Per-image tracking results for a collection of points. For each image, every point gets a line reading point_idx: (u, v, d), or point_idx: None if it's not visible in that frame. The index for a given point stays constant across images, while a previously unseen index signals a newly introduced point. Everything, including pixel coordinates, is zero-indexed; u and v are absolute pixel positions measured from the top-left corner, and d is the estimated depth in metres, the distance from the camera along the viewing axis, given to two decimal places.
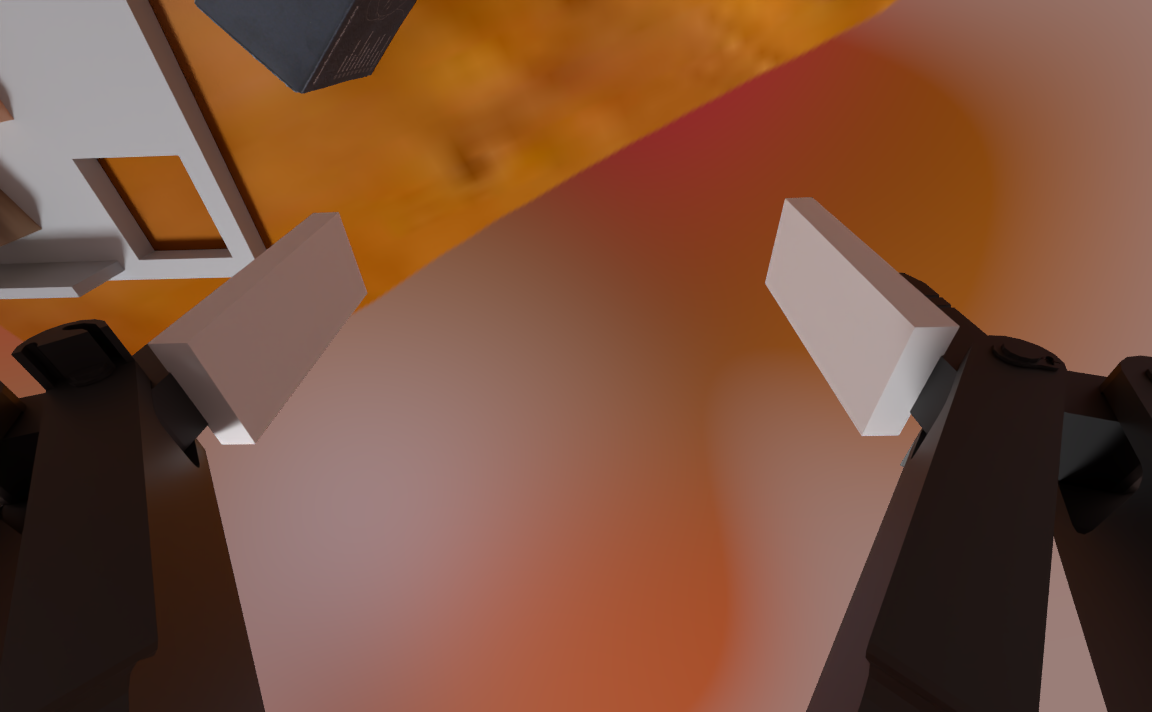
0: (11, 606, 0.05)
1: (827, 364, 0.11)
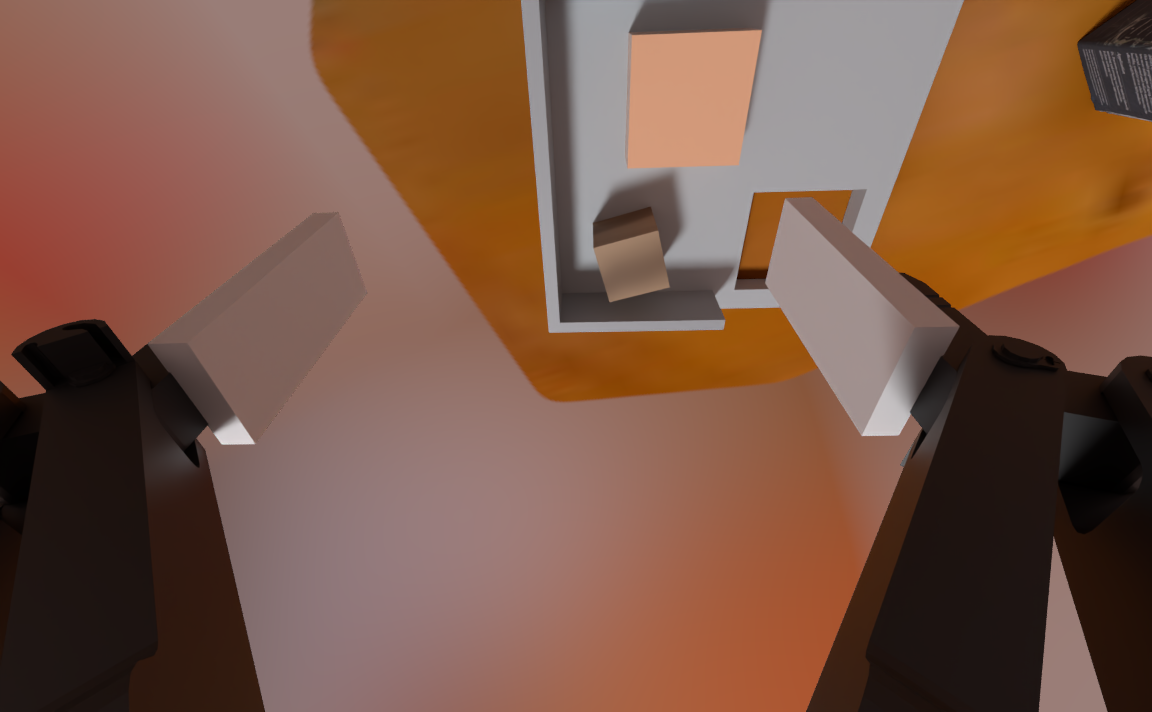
0: (11, 606, 0.05)
1: (827, 364, 0.11)
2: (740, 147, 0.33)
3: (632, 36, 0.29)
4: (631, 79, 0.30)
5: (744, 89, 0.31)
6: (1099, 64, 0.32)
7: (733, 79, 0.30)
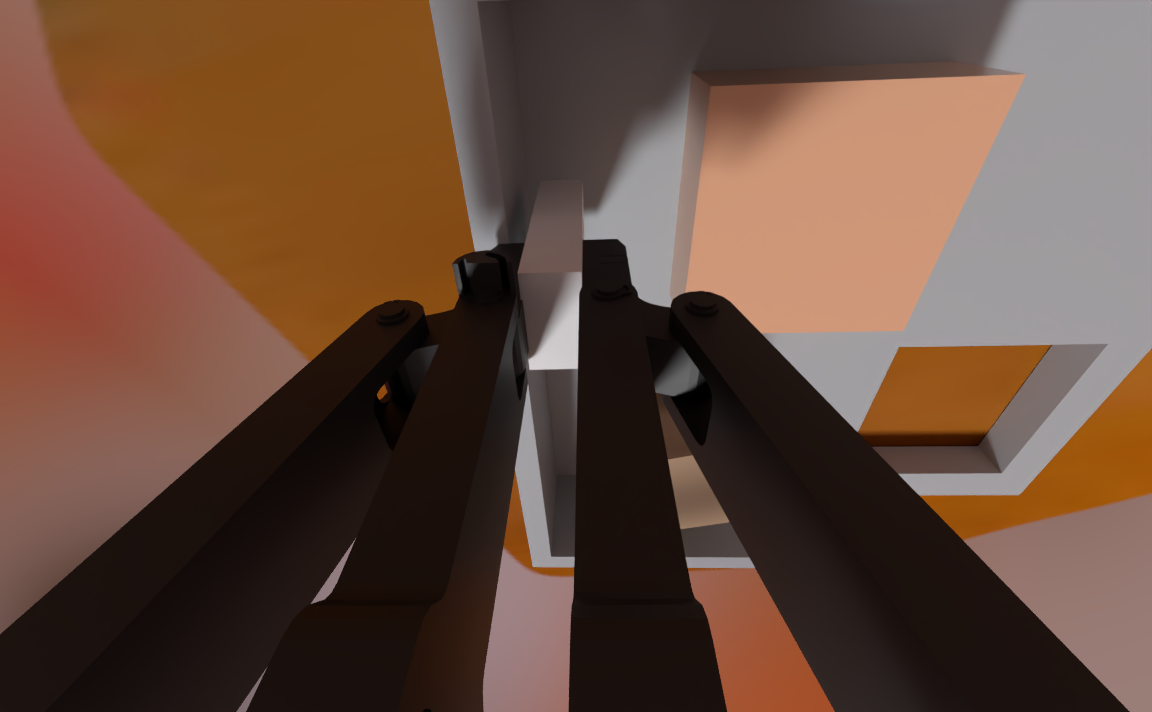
0: (384, 473, 0.06)
1: None
2: (914, 302, 0.16)
3: (711, 88, 0.12)
4: (701, 179, 0.14)
5: (950, 198, 0.14)
6: None
7: (929, 180, 0.14)
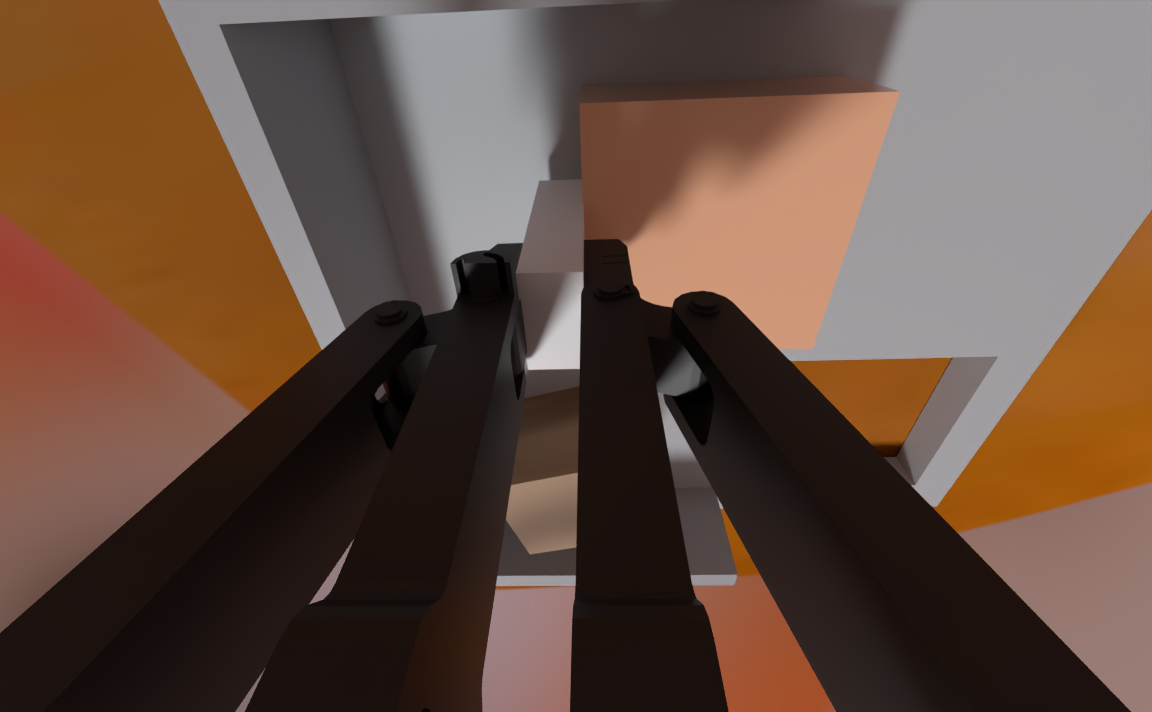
0: (382, 473, 0.06)
1: None
2: (819, 320, 0.16)
3: (581, 105, 0.12)
4: (584, 197, 0.13)
5: (840, 216, 0.14)
6: None
7: (817, 198, 0.13)
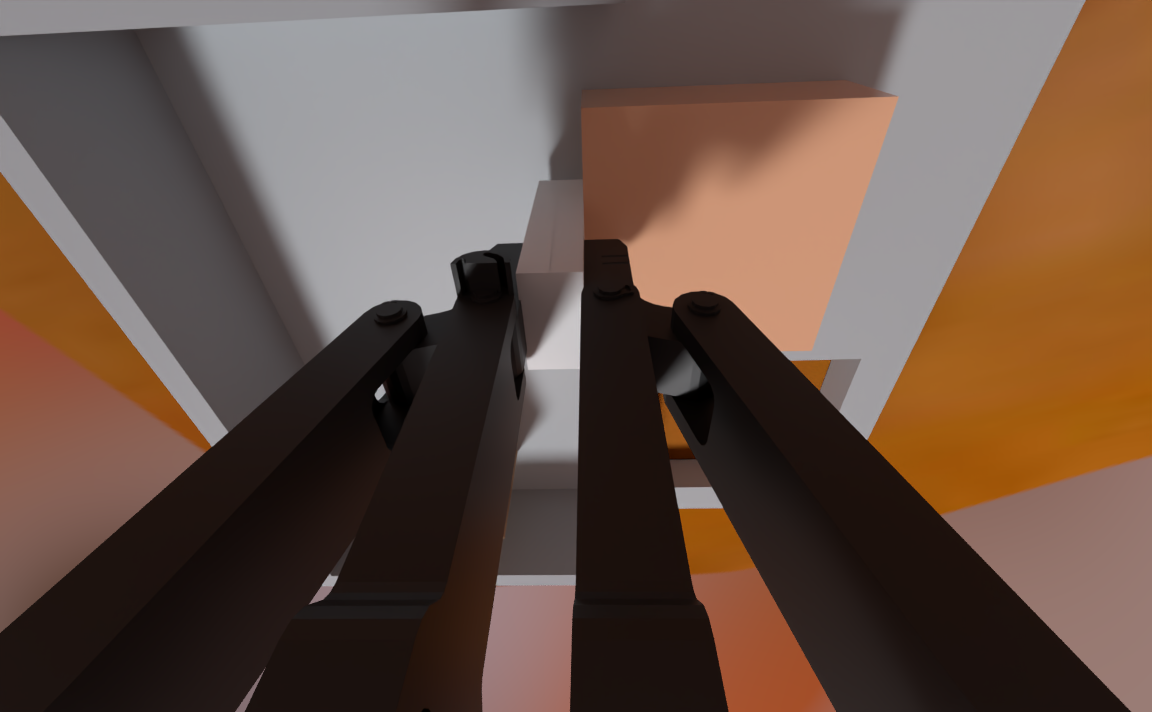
0: (382, 473, 0.06)
1: None
2: (818, 322, 0.16)
3: (582, 110, 0.12)
4: (585, 200, 0.13)
5: (840, 220, 0.14)
6: None
7: (816, 201, 0.13)
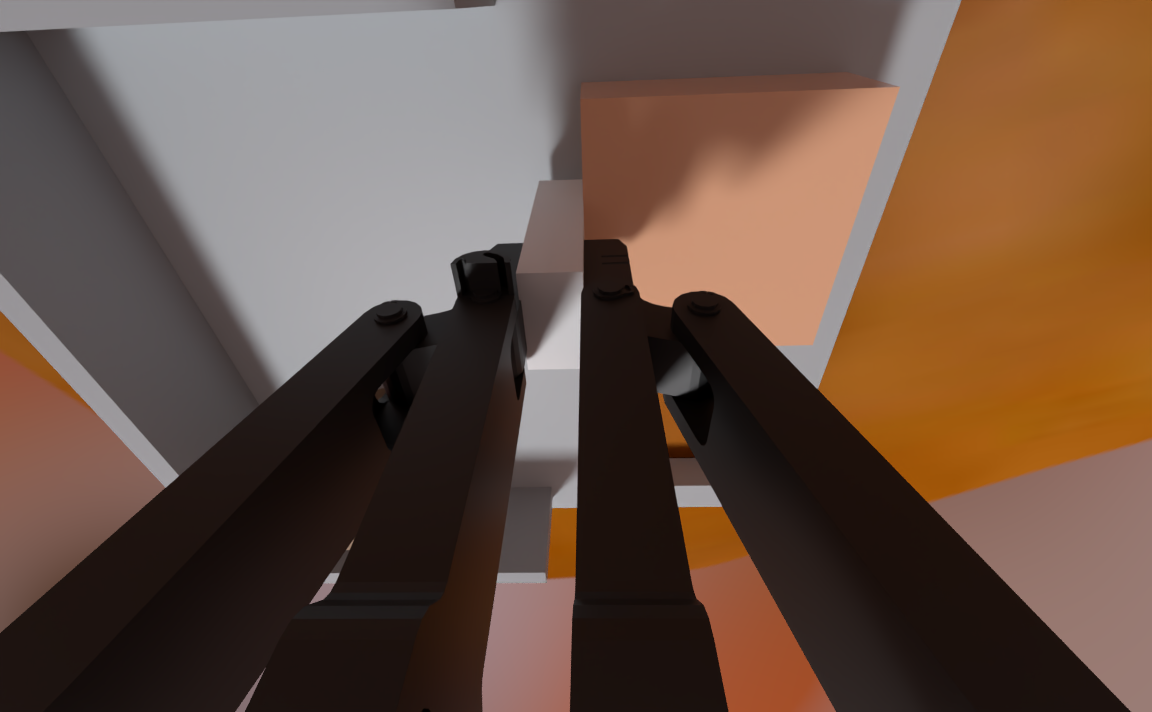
0: (382, 473, 0.06)
1: None
2: (819, 316, 0.16)
3: (582, 101, 0.12)
4: (585, 192, 0.13)
5: (840, 212, 0.14)
6: None
7: (817, 194, 0.13)
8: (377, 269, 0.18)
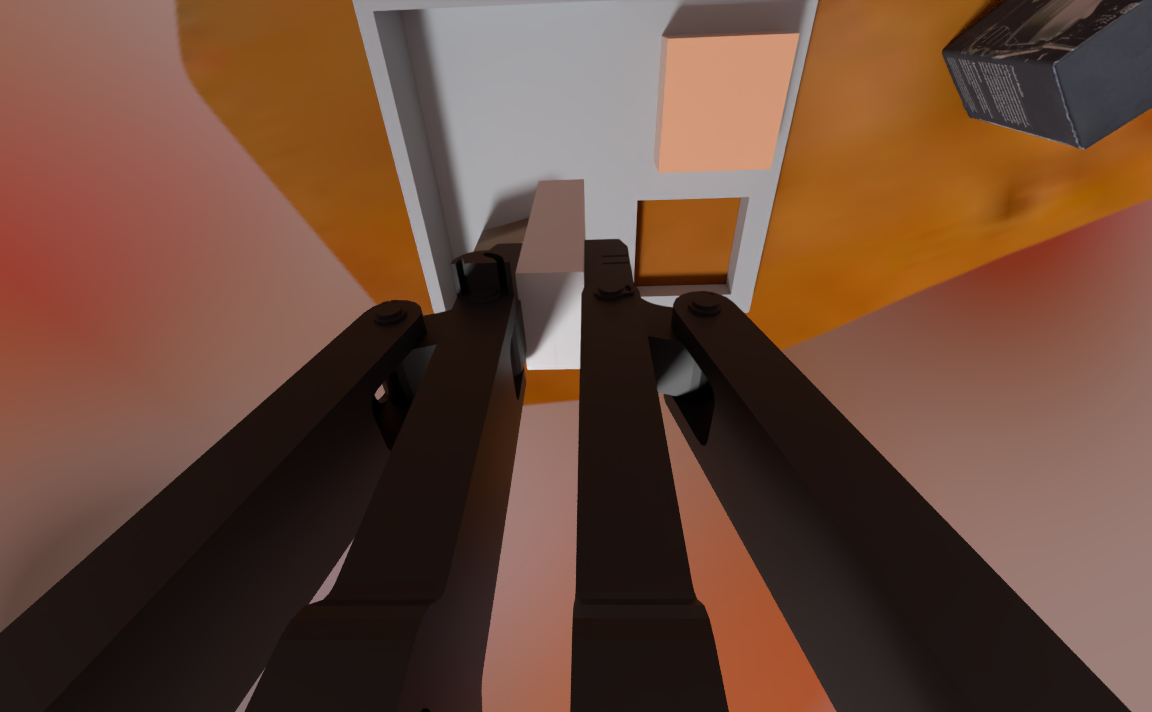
0: (382, 473, 0.06)
1: None
2: (773, 151, 0.32)
3: (668, 39, 0.29)
4: (665, 83, 0.30)
5: (779, 93, 0.30)
6: (962, 72, 0.32)
7: (768, 83, 0.30)
8: (535, 138, 0.35)
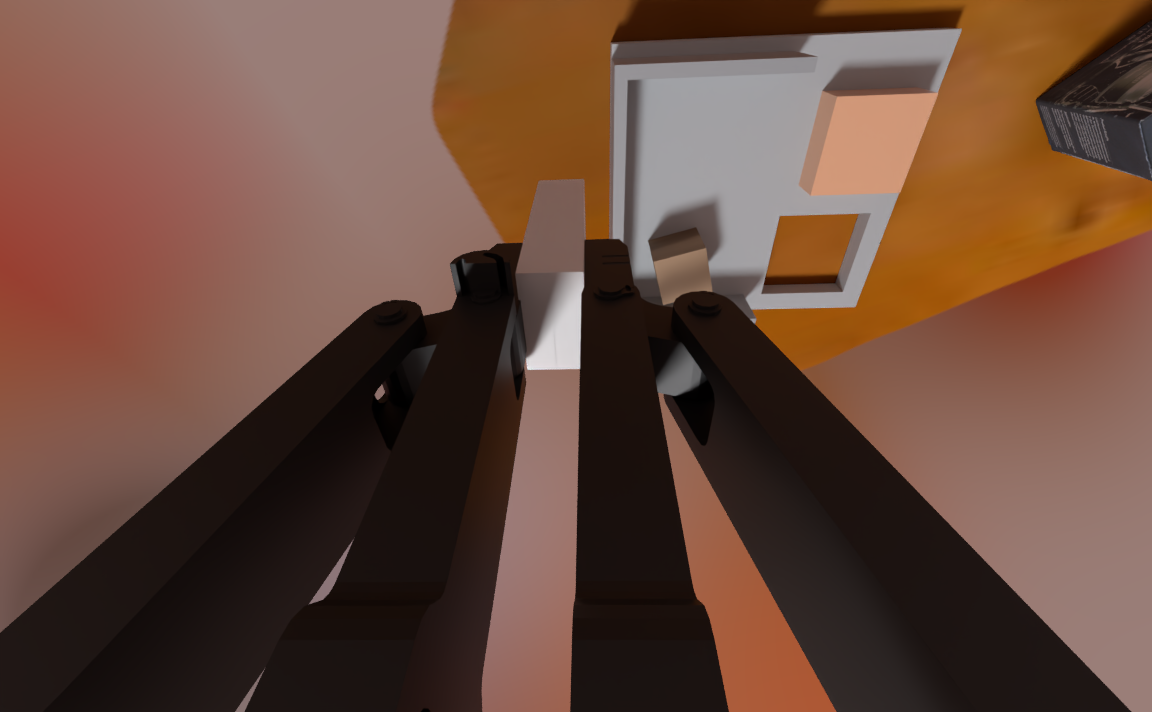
0: (382, 473, 0.06)
1: None
2: (904, 179, 0.41)
3: (836, 97, 0.38)
4: (829, 128, 0.39)
5: (916, 136, 0.39)
6: (1052, 117, 0.41)
7: (908, 129, 0.39)
8: (707, 167, 0.44)
